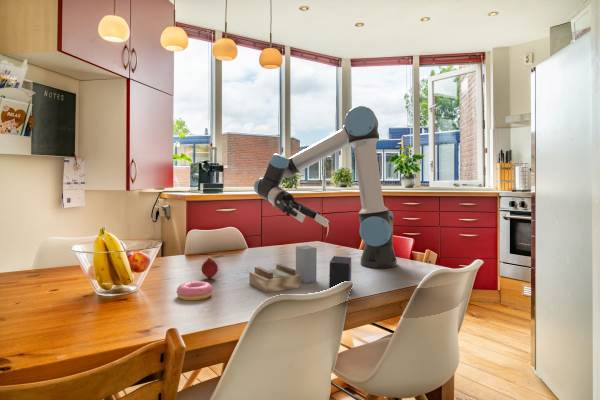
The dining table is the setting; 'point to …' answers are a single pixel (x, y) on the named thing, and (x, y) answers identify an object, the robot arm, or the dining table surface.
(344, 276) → the small box
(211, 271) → the onion
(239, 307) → the dining table surface
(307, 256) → the tall grey prism
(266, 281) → the stand
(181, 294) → the doughnut
